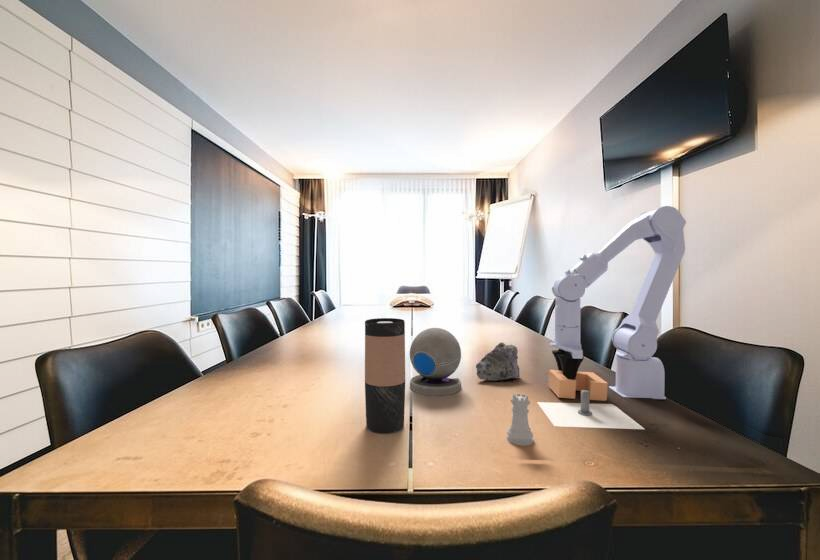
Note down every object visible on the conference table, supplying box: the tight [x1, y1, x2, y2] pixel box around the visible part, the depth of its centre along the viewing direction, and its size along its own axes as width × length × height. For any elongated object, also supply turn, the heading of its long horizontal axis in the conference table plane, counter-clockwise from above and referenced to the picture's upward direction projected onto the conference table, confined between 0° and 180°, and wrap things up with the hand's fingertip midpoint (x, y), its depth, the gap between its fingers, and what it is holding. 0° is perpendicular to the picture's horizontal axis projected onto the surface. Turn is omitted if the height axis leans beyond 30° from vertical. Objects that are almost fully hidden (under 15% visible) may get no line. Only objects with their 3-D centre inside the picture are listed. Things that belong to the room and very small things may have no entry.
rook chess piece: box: [506, 393, 534, 446], centre depth 64 cm, size 4×4×8 cm
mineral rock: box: [475, 342, 521, 382], centre depth 102 cm, size 13×11×10 cm
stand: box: [536, 390, 645, 430], centre depth 75 cm, size 16×13×5 cm
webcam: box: [409, 327, 462, 396], centre depth 95 cm, size 13×13×15 cm
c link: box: [547, 369, 609, 402], centre depth 88 cm, size 8×10×4 cm
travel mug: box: [364, 317, 406, 435], centre depth 71 cm, size 8×8×20 cm
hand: (567, 381), depth 91 cm, fingers closed on c link, 2 cm apart
